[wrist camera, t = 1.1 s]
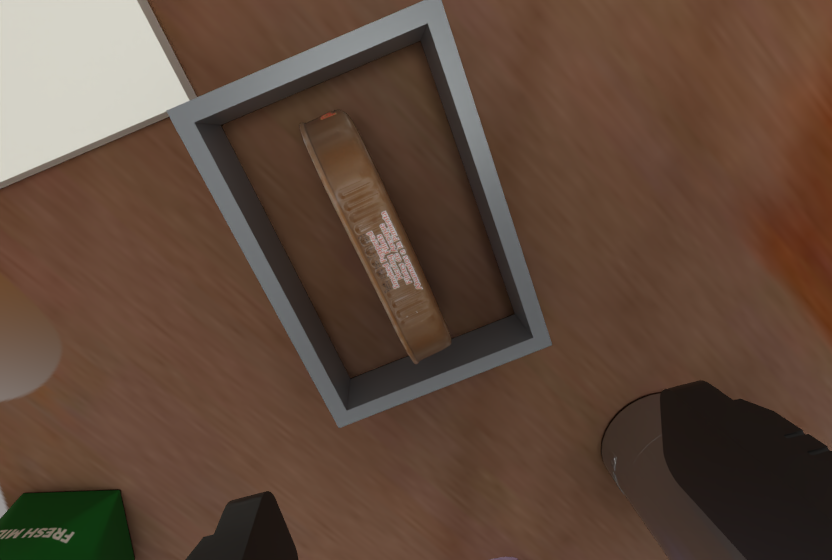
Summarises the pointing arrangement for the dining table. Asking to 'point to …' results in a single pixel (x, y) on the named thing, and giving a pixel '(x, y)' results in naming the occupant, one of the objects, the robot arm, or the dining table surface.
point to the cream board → (79, 79)
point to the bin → (271, 262)
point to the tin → (376, 233)
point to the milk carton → (66, 527)
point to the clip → (505, 558)
